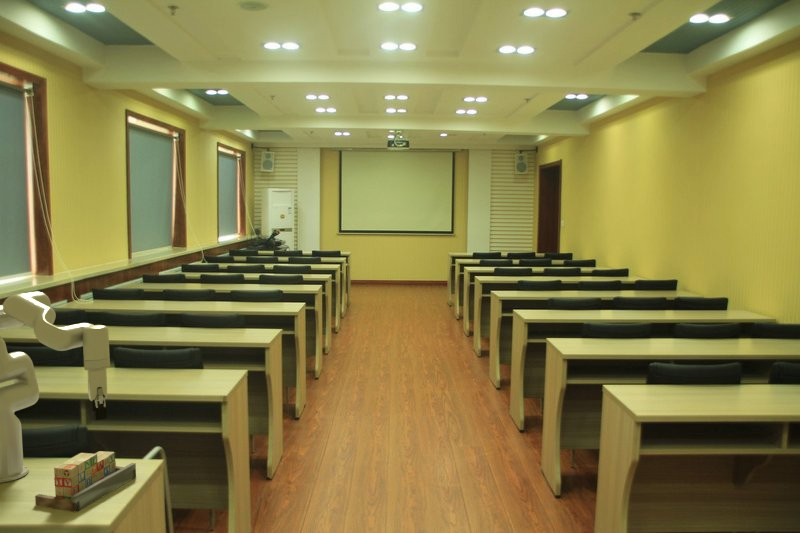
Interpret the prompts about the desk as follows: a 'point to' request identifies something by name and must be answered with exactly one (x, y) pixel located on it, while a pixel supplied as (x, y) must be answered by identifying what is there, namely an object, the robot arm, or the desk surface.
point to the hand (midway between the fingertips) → (99, 414)
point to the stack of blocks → (82, 472)
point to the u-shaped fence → (90, 491)
